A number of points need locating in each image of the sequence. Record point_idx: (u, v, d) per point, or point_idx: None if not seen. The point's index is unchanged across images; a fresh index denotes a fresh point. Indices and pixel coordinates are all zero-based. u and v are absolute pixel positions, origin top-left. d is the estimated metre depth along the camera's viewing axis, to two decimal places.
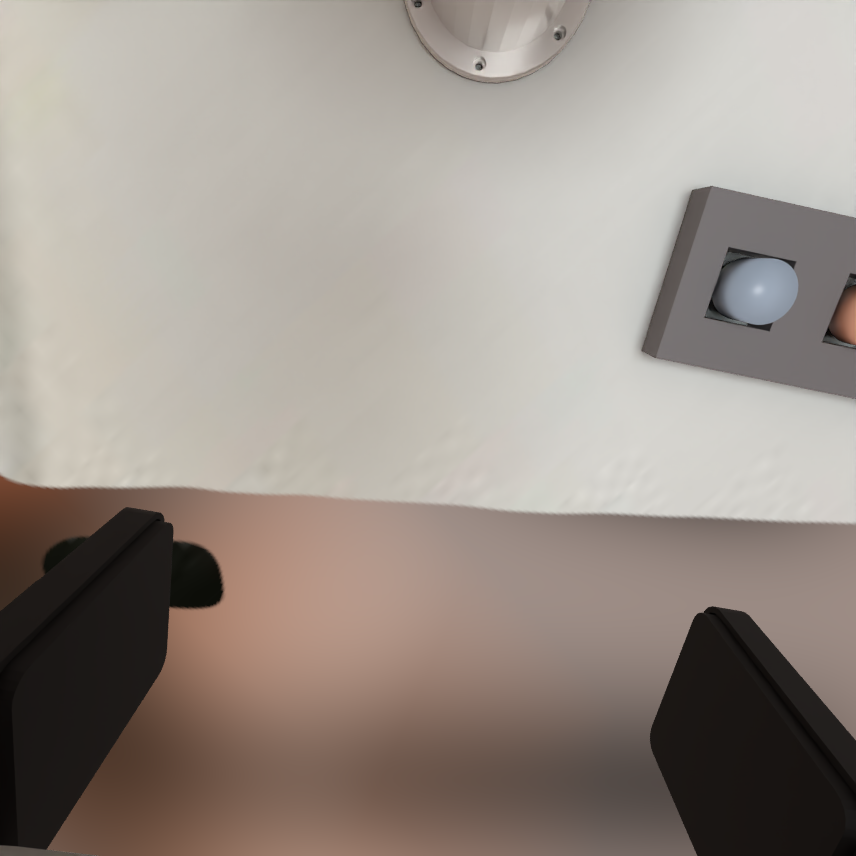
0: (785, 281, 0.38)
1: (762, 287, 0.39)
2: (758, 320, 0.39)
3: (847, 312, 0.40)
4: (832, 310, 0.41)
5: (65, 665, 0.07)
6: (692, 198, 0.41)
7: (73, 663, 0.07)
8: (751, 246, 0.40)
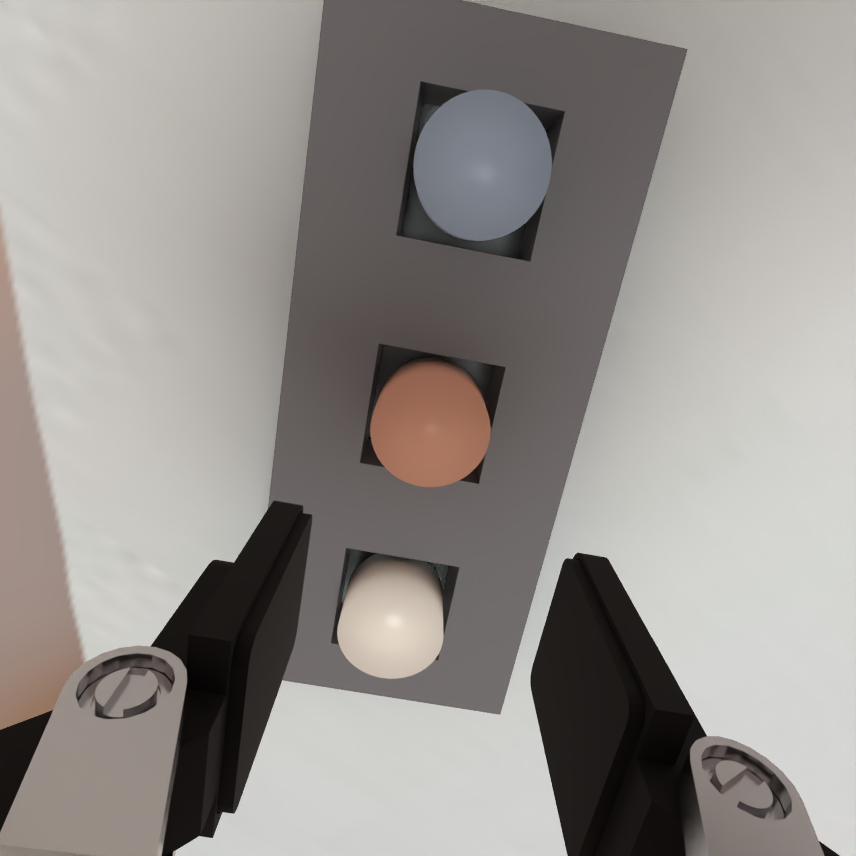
0: (503, 209, 0.18)
1: (493, 159, 0.18)
2: (422, 164, 0.18)
3: (437, 366, 0.21)
4: (438, 350, 0.22)
5: (267, 633, 0.08)
6: None
7: (269, 632, 0.08)
8: (562, 163, 0.20)
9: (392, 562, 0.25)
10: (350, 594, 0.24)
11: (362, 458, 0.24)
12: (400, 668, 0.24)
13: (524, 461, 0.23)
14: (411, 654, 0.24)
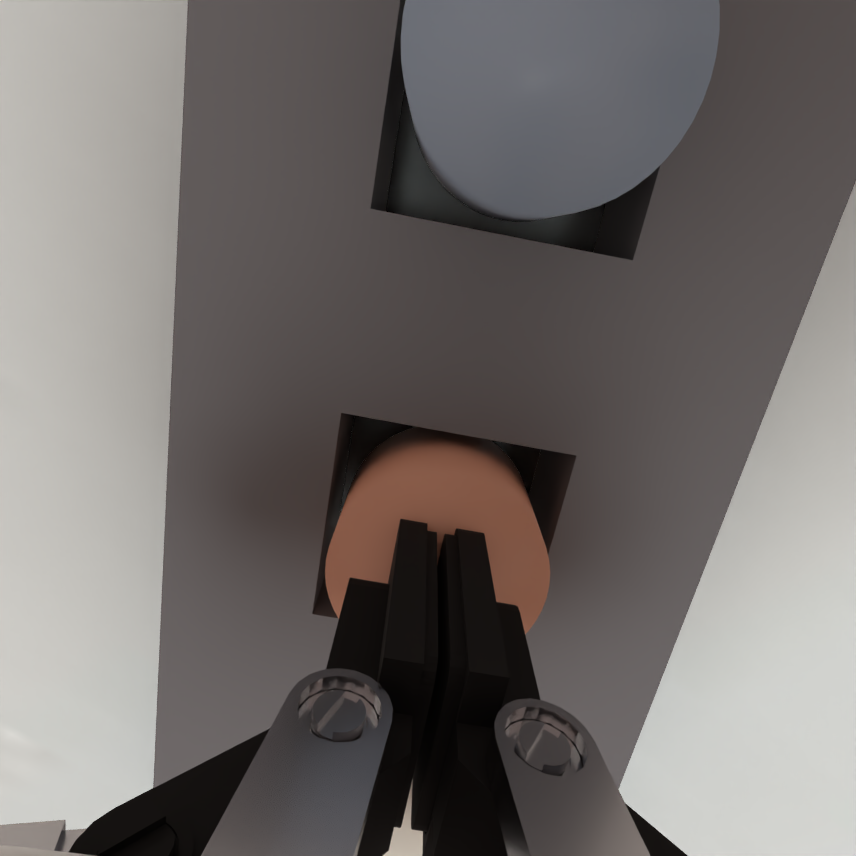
0: (602, 144, 0.08)
1: (583, 26, 0.08)
2: (421, 40, 0.08)
3: (451, 454, 0.12)
4: (452, 425, 0.12)
5: None
6: None
7: None
8: None
9: None
10: None
11: (319, 600, 0.14)
12: None
13: (602, 614, 0.13)
14: None
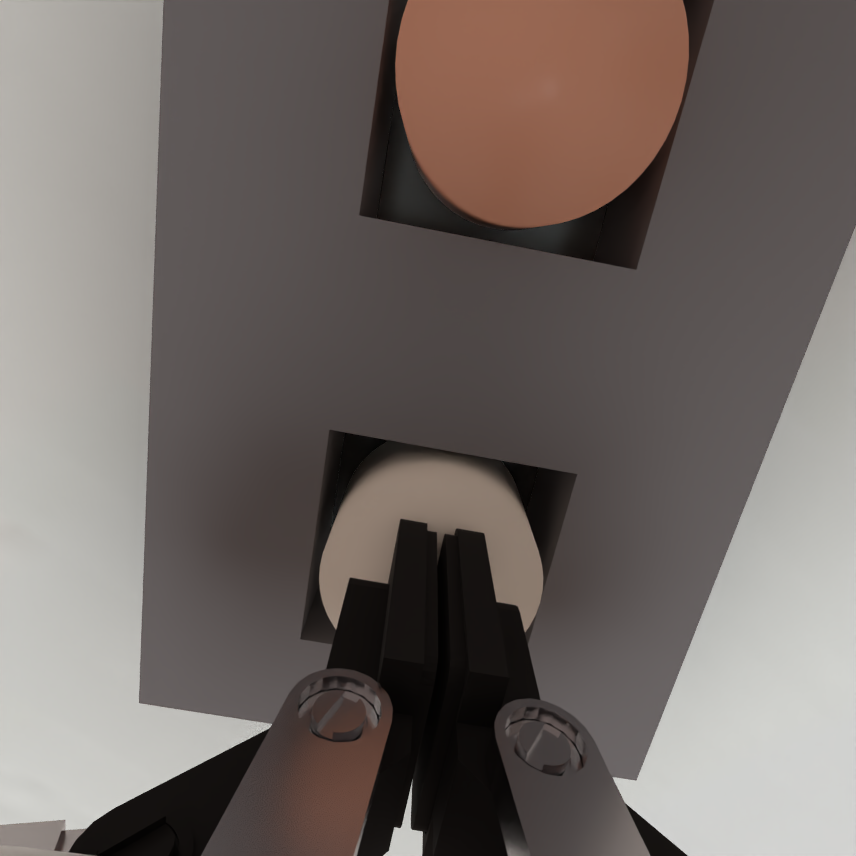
0: None
1: None
2: None
3: None
4: None
5: None
6: None
7: None
8: None
9: None
10: (346, 502, 0.12)
11: None
12: None
13: (749, 210, 0.10)
14: None
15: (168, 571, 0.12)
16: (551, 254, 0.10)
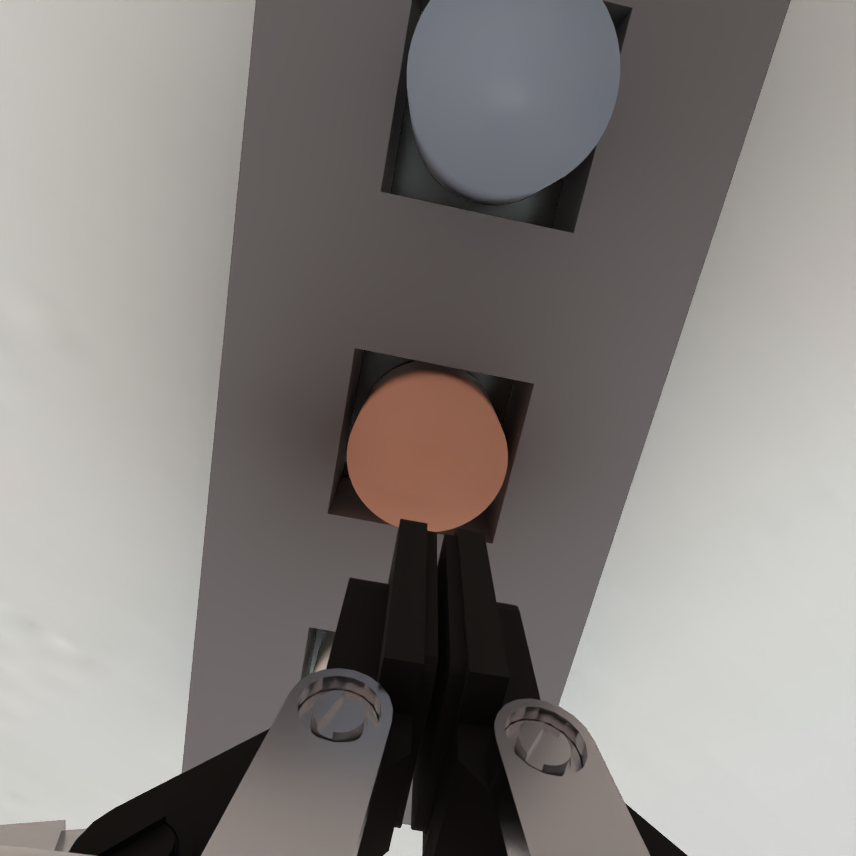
0: (544, 144, 0.12)
1: (529, 65, 0.12)
2: (420, 72, 0.12)
3: (438, 372, 0.16)
4: (439, 358, 0.15)
5: None
6: None
7: None
8: (625, 87, 0.14)
9: None
10: (320, 665, 0.19)
11: (332, 506, 0.17)
12: None
13: (555, 514, 0.17)
14: None
15: (204, 708, 0.19)
16: (442, 534, 0.17)
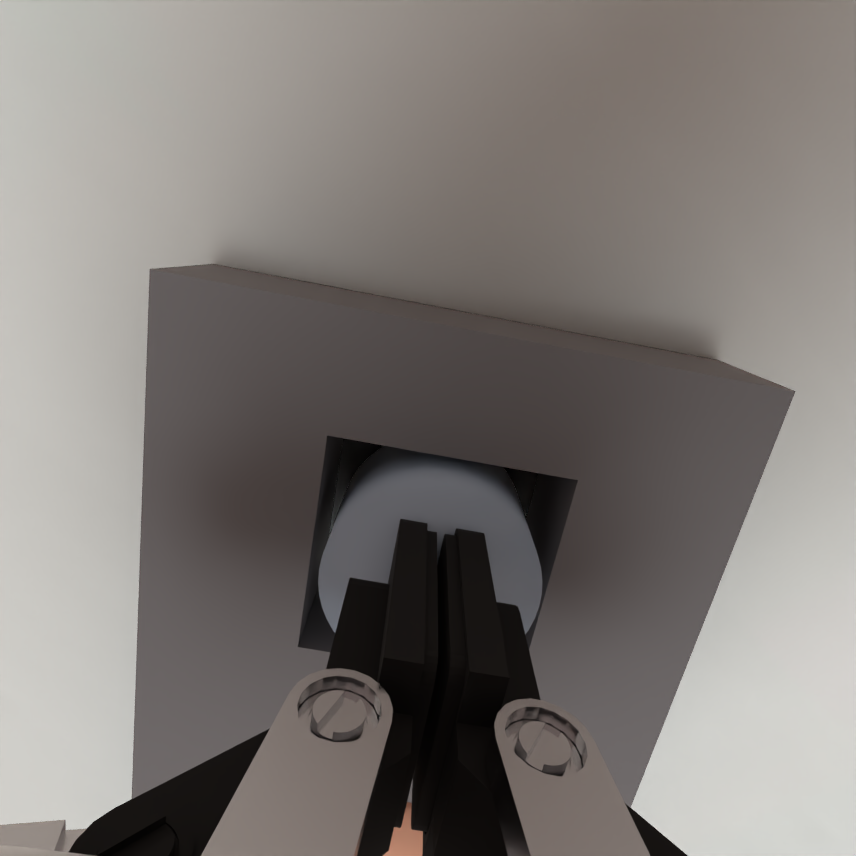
0: None
1: None
2: (333, 583, 0.11)
3: None
4: None
5: None
6: (702, 359, 0.13)
7: None
8: (573, 552, 0.12)
9: None
10: None
11: None
12: None
13: None
14: None
15: None
16: None
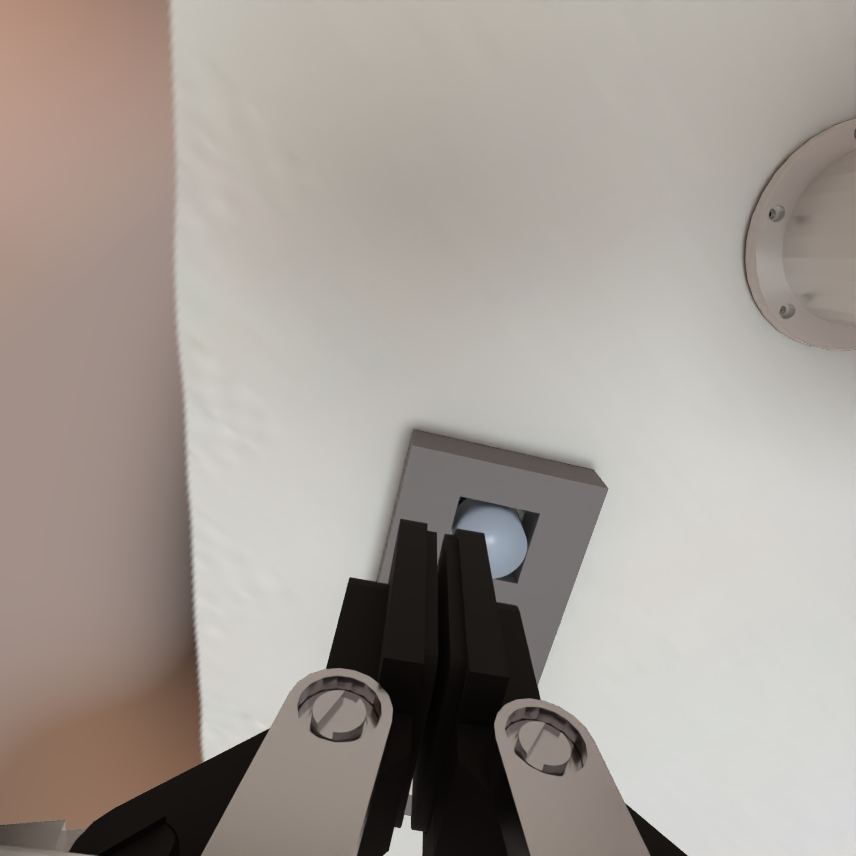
0: (500, 565, 0.35)
1: (496, 543, 0.34)
2: None
3: None
4: None
5: None
6: (587, 470, 0.36)
7: None
8: (537, 537, 0.35)
9: None
10: None
11: None
12: None
13: None
14: None
15: None
16: None
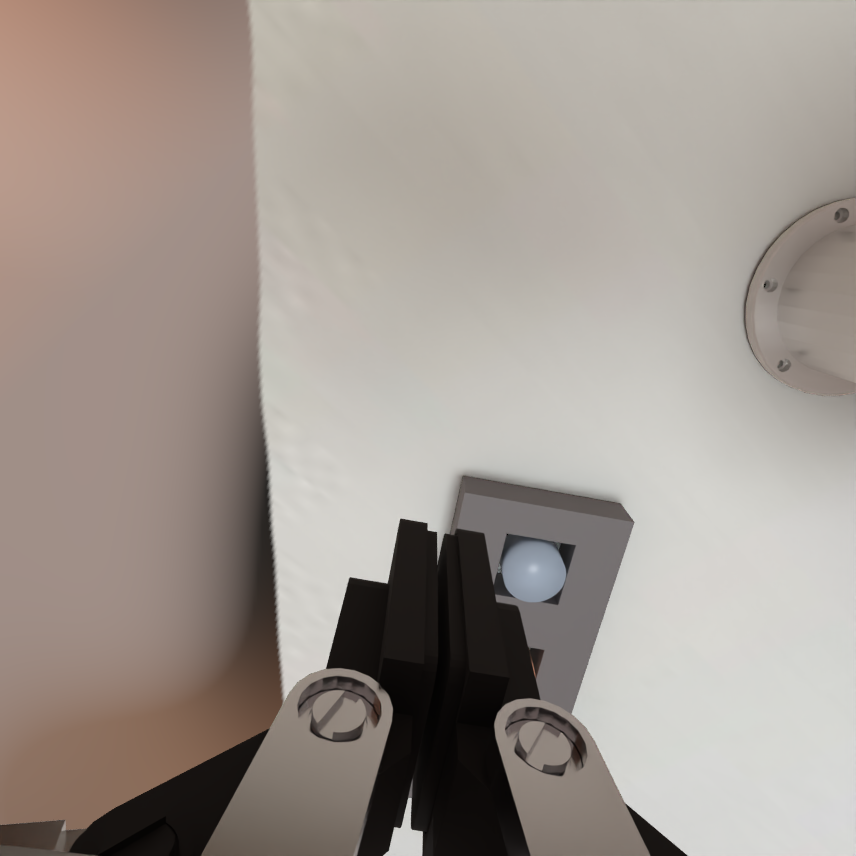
0: (544, 590, 0.40)
1: (539, 572, 0.40)
2: (507, 574, 0.40)
3: None
4: None
5: None
6: (614, 504, 0.42)
7: None
8: (574, 565, 0.41)
9: None
10: None
11: None
12: None
13: (553, 692, 0.44)
14: None
15: None
16: None
